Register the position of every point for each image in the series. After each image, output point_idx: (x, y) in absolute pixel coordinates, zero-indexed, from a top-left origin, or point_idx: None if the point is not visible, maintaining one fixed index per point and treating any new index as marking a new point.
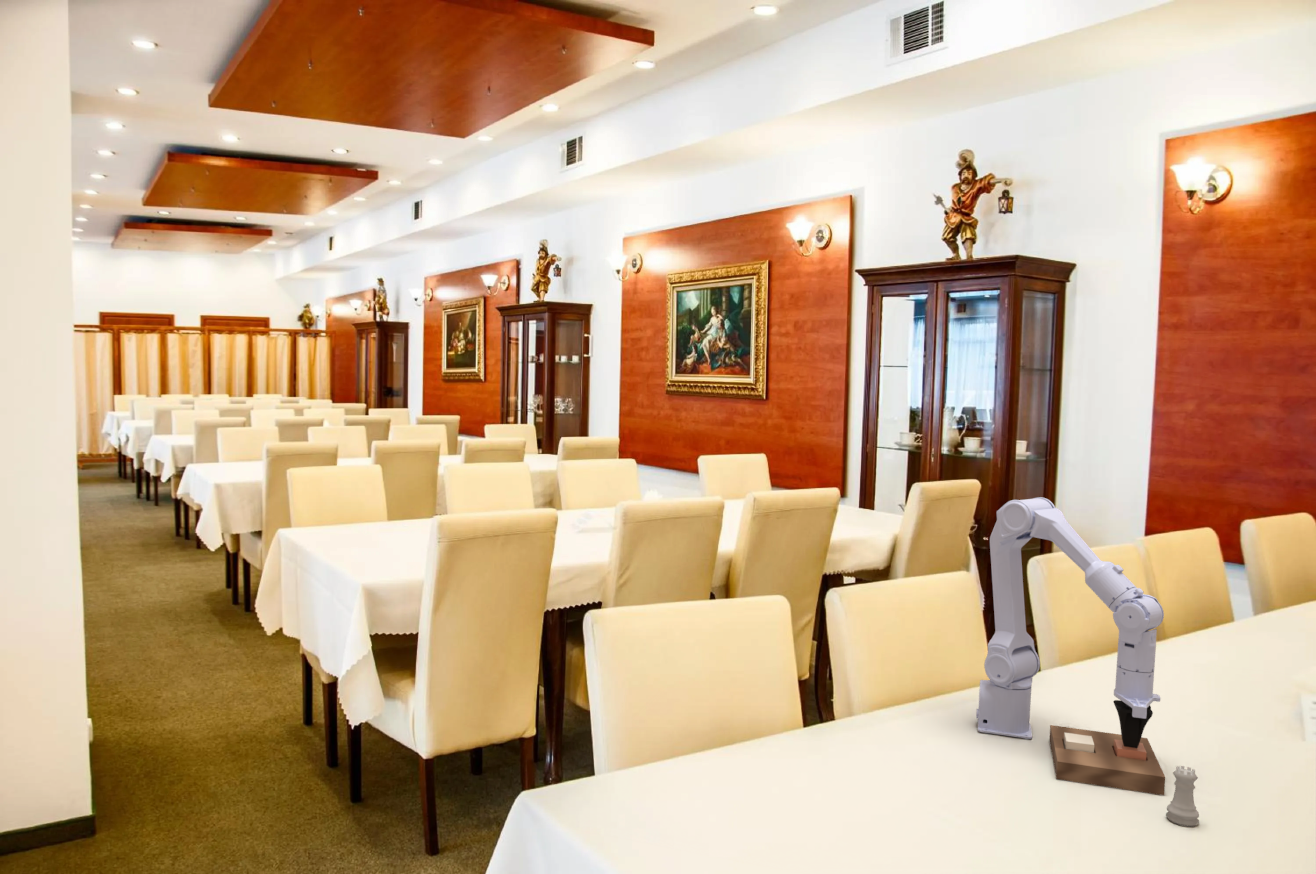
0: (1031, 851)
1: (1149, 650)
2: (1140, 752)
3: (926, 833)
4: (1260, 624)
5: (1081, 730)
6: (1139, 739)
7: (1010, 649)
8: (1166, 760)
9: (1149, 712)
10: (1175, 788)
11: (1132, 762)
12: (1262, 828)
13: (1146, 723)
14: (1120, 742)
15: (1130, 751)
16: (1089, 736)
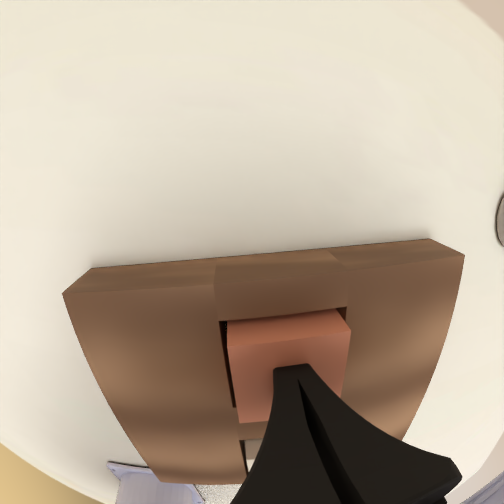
0: None
1: None
2: (346, 348)
3: (488, 430)
4: None
5: (145, 449)
6: (329, 387)
7: None
8: (103, 204)
9: (449, 487)
10: None
11: (379, 350)
12: (484, 65)
13: (396, 439)
14: (265, 409)
15: (341, 375)
16: (253, 462)
